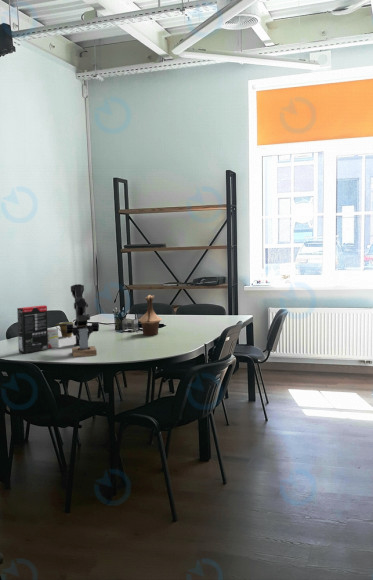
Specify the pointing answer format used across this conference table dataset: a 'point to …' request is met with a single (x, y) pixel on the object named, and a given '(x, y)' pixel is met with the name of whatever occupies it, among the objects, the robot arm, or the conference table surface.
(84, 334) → the grey rectangular block
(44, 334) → the graphics card box
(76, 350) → the post foot
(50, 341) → the ink box
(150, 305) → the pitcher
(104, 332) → the conference table surface
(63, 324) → the ceramic cup
